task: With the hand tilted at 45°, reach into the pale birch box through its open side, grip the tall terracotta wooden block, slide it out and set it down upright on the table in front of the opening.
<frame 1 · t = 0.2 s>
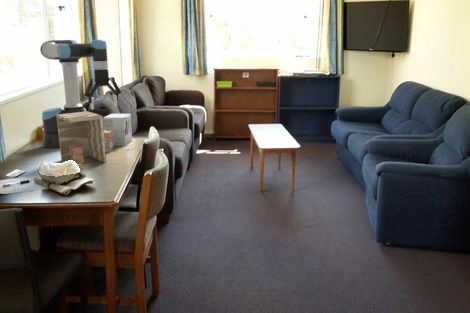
hand: (104, 107, 257), 28 cm above the table, tool pointing down, fingers open, 13 cm apart
supplement box: (119, 143, 299), on the table
open side box: (77, 163, 250), on the table
stack of blocks: (94, 151, 278), on the table
terracotta block: (77, 163, 250), on the table
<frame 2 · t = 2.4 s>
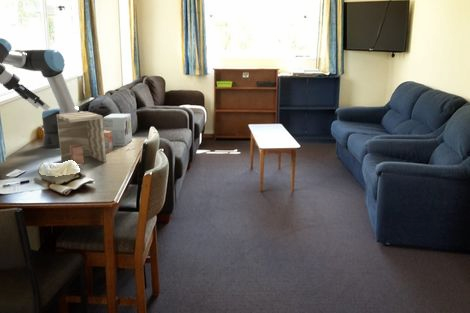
hand: (43, 107, 233), 32 cm above the table, tool tilted 45°, fingers open, 13 cm apart
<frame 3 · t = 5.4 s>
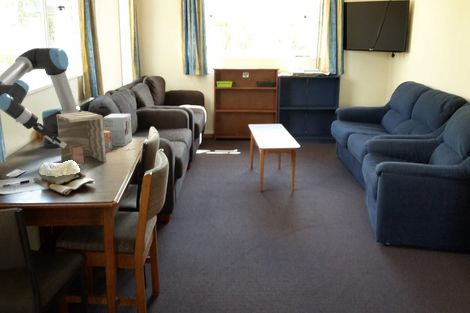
hand: (60, 144, 241), 12 cm above the table, tool tilted 45°, fingers open, 13 cm apart
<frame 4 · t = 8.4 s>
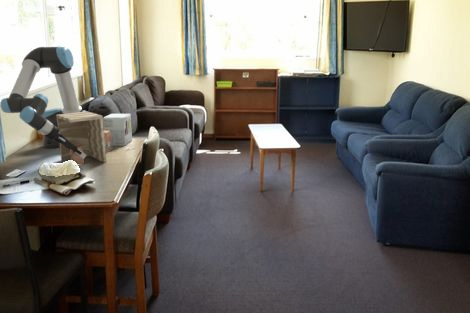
hand: (82, 155, 251), 4 cm above the table, tool tilted 45°, fingers closed on terracotta block, 5 cm apart
terracotta block: (77, 163, 250), on the table, touching gripper
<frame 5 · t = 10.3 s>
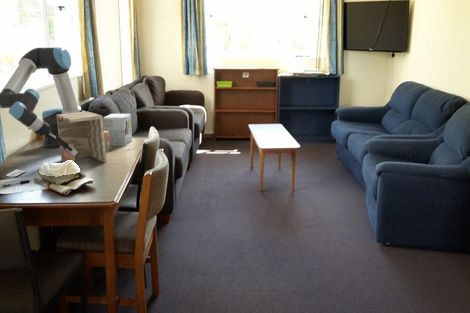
hand: (73, 152, 247), 6 cm above the table, tool tilted 45°, fingers closed on terracotta block, 5 cm apart
terracotta block: (68, 160, 246), point 3 cm above the table, touching gripper
when the fingers open (5 cm above the table, at t = 12.5 s): terracotta block stays where it is, on the table.
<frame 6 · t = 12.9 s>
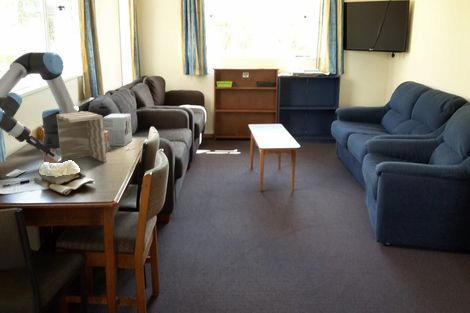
hand: (54, 157, 241), 6 cm above the table, tool tilted 45°, fingers open, 10 cm apart
terracotta block: (51, 168, 241), on the table
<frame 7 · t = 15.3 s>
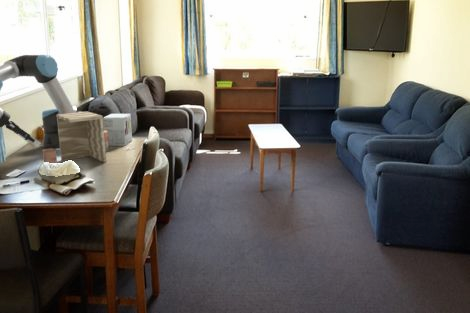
hand: (34, 142, 233), 15 cm above the table, tool tilted 45°, fingers open, 13 cm apart
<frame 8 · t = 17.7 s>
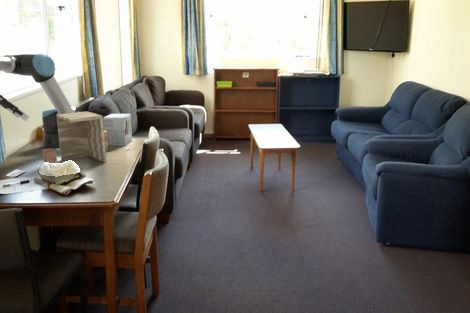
hand: (23, 117, 231), 28 cm above the table, tool tilted 45°, fingers open, 13 cm apart
at the end: terracotta block inside the target area (0.0 cm from its centre), on the table; terracotta block tilted 0°; the gripper is holding nothing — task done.
